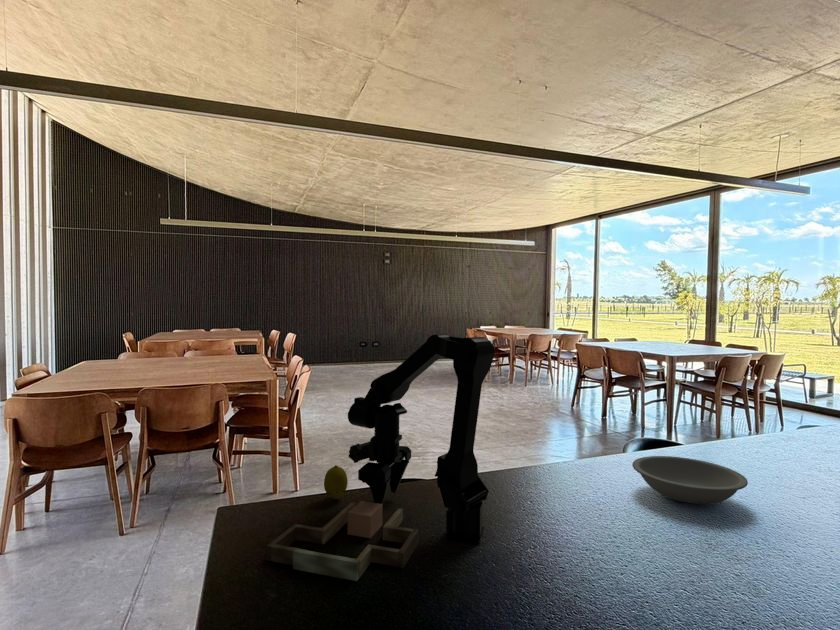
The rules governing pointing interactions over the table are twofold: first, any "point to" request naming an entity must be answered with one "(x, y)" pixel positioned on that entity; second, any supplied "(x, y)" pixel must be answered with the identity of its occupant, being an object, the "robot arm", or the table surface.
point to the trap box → (339, 564)
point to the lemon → (335, 481)
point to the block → (365, 519)
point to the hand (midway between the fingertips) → (386, 499)
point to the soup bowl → (689, 479)
